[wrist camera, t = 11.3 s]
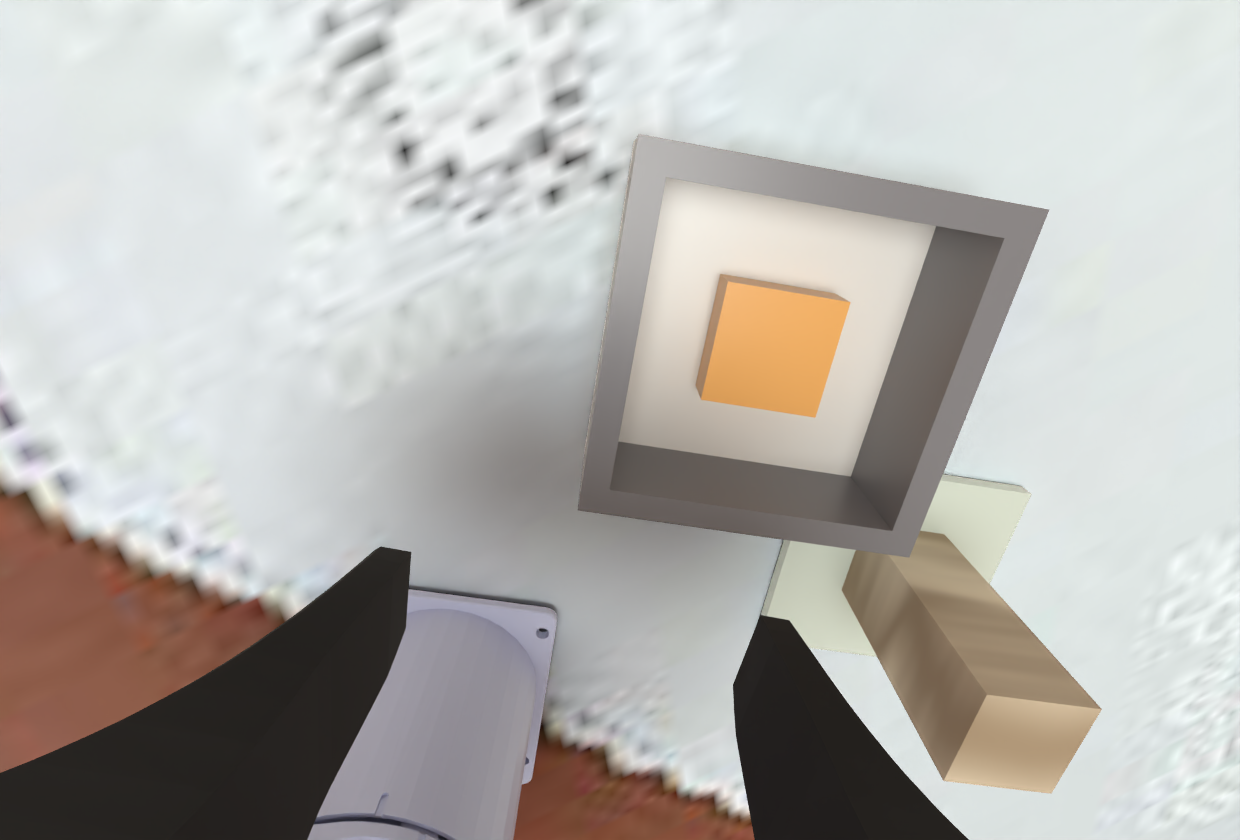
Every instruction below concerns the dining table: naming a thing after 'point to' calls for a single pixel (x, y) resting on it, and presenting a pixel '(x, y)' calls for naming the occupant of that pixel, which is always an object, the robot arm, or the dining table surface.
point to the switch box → (863, 362)
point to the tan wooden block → (968, 668)
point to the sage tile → (817, 573)
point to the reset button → (770, 345)
